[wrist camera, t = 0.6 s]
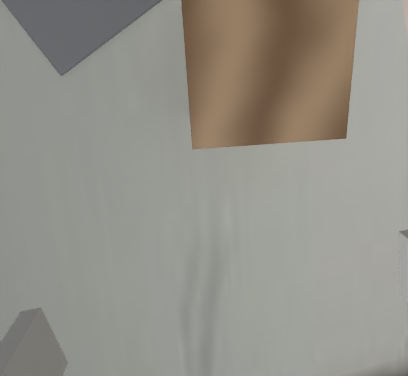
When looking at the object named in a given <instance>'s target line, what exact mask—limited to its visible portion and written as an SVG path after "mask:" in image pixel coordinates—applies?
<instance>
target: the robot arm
mask: <svg viewBox="0 0 408 376" xmlns="http://www.w3.org/2000/svg"><path fill="white" fill-rule="evenodd" d="M399 283H400V295H401V296H402V297H403V298H404V299H405V301H406V302H407V303H408V230H404V231H399ZM67 363H68V362H67V360H66V358H65V356H64V353H63V351H62V349H61V347H60V345H59V343H58V341H57V339H56V337H55V335H54V333H53V331H52V329H51V327H50V325H49V323H48V321H47V319H46V317H45V315H44V313H43V311H42V309H41V308H36V309H31V310H26V311H22V312H20V314H19V315H18V317H17V318H16V320H15V321H14V323H13V324H12V326H11V327H10V329H9V330H8V332H7V333H6V335H5V337H4V338H3V340H2V341H1V343H0V376H63V373H64V371H65V368H66V366H67Z"/></svg>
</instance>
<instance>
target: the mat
mask: <svg viewBox="0 0 408 376" xmlns="http://www.w3.org/2000/svg"><path fill="white" fill-rule="evenodd" d="M160 1H161V0H2V2H3V3H4V4H5V5H6V7H7V8H8V9H9V10H10V12H11V13H12V14H13V16H14V17H15V18H16V19H17V21H18V22H19V23H20V25H21V26H22V27H23V28H24V30H25V31H26V32H27V33H28V35H29V36H30V37H31V39H32V40H33V41H34V42H35V44H36V45H37V46H38V48H39V49H40V50H41V51H42V53H43V54H44V55H45V56H46V58H47V59H48V60H49V62H50V63H51V64H52V65H53V67H54V68H55V69H56V70H57V72H58V73H59V74H60V76H62V75H64V74H65V73H66V72H68V71H69V70H70V69H72V68H73V67H74V66H76V65H77V64H78V63H80V62H81V61H82V60H84V59H85V58H86V57H88V56H89V55H90V54H92V53H93V52H94V51H95V50H97V49H98V48H99V47H101V46H102V45H103V44H105V43H106V42H107V41H109V40H110V39H111V38H113V37H114V36H115V35H117V34H118V33H119V32H121V31H122V30H123V29H124V28H126V27H127V26H128V25H130V24H131V23H132V22H134V21H135V20H136V19H138V18H139V17H140V16H142V15H143V14H144V13H146V12H147V11H148V10H150V9H151V8H152V7H154V6H155V5H156V4H157V3H159V2H160Z"/></svg>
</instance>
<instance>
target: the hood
mask: <svg viewBox="0 0 408 376" xmlns="http://www.w3.org/2000/svg"><path fill="white" fill-rule="evenodd" d="M181 1H182V15H183V28H184V42H185V55H186V69H187V82H188V96H189V109H190V123H191V136H192V149H203V148H217V147H231V146H245V145H260V144H274V143H288V142H302V141H317V140H331V139H345V138H346V134H347V123H348V112H349V101H350V90H351V80H352V69H353V58H354V47H355V36H356V25H357V15H358V4H359V0H181Z"/></svg>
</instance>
